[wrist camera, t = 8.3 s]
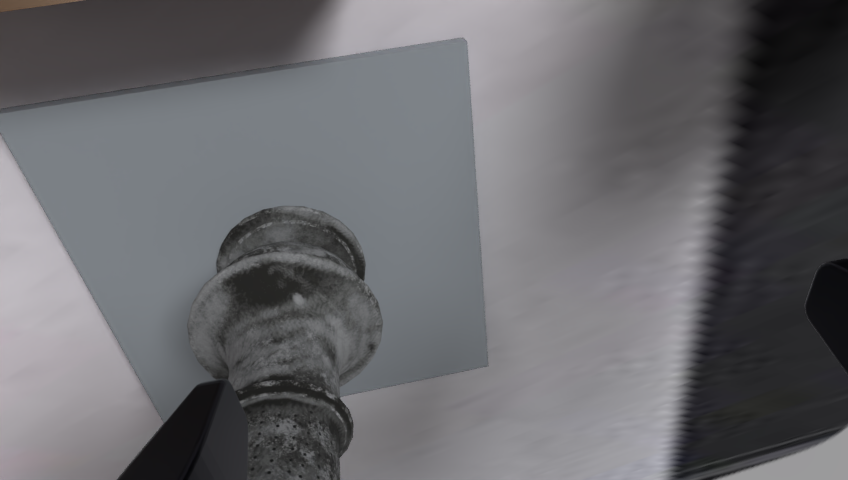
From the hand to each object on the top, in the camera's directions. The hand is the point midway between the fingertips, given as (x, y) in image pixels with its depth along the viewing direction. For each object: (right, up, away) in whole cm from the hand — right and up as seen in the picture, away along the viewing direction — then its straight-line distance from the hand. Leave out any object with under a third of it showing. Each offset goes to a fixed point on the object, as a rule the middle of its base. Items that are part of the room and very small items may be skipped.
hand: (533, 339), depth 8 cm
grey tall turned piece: (-7, +1, +12) cm, 13 cm away
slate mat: (-7, +1, +12) cm, 14 cm away
